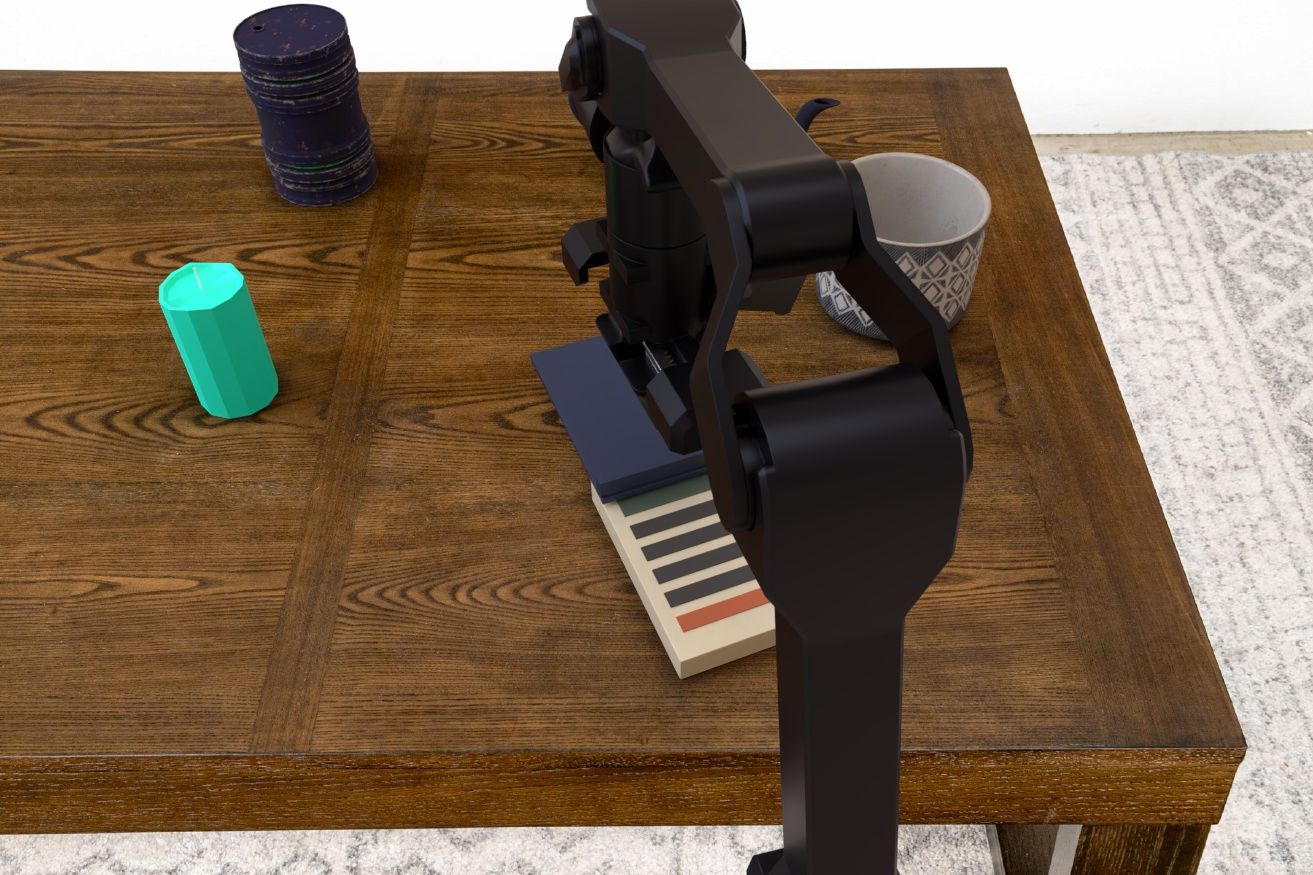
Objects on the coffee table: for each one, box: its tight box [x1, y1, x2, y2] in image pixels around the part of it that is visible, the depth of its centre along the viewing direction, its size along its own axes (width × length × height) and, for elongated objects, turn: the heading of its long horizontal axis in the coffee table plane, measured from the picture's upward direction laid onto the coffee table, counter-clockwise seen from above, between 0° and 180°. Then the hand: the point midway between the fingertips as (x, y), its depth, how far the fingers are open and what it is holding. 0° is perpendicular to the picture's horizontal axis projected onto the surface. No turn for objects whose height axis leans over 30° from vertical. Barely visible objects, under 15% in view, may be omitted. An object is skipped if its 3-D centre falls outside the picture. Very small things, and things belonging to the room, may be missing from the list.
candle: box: [158, 262, 279, 419], centre depth 86 cm, size 6×6×12 cm
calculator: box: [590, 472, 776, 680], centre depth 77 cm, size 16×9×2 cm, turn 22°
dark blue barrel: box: [232, 3, 379, 208], centre depth 105 cm, size 10×10×15 cm
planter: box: [814, 151, 992, 342], centre depth 93 cm, size 13×13×10 cm
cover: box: [529, 334, 707, 504], centre depth 84 cm, size 16×9×2 cm, turn 22°
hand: (662, 424), depth 73 cm, fingers closed
